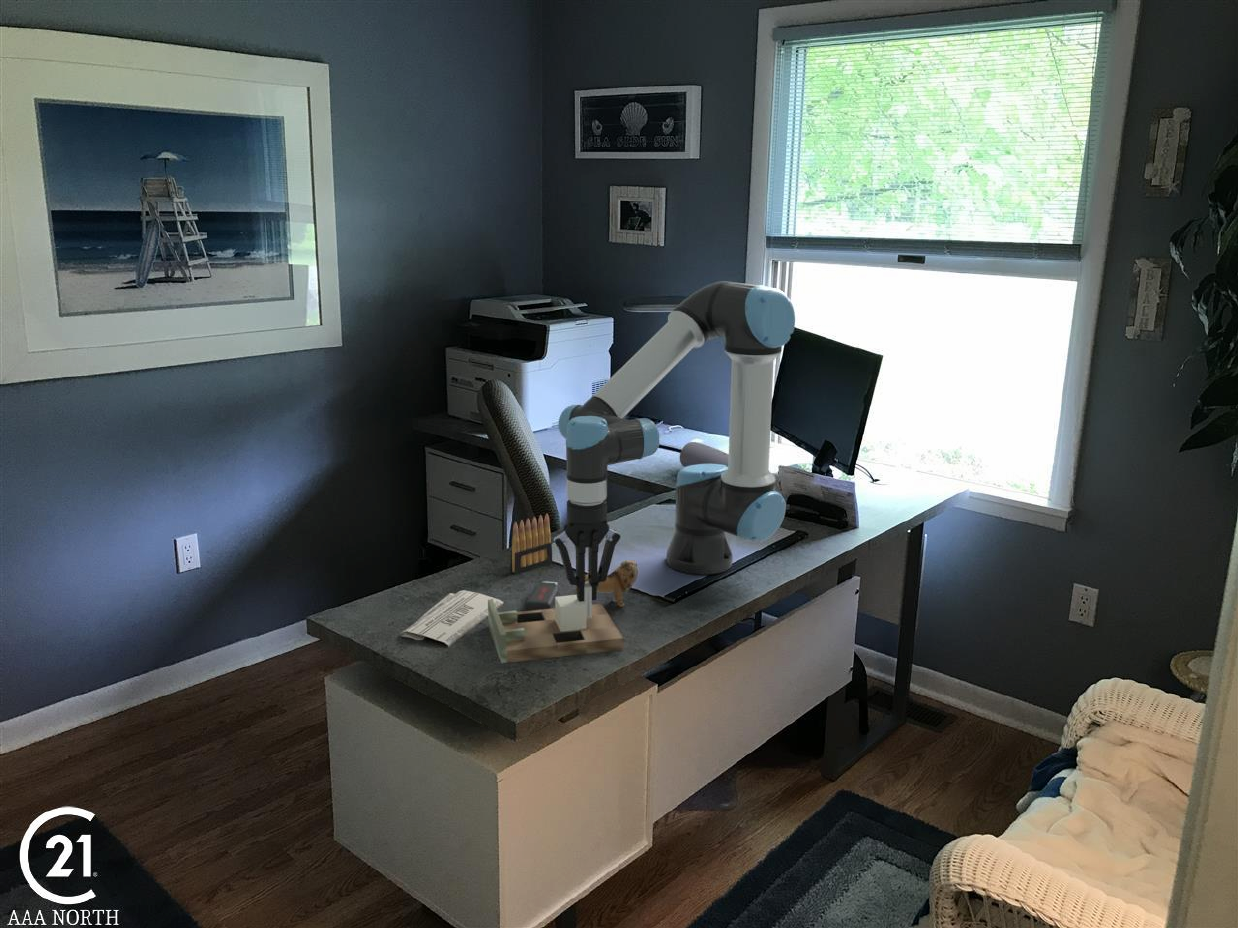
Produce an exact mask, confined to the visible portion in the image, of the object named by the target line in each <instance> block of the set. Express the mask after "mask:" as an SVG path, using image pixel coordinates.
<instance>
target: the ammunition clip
mask: <svg viewBox="0 0 1238 928" xmlns="http://www.w3.org/2000/svg"><path fill="white" fill-rule="evenodd" d="M537 522H538V523H537ZM524 523H525V524H524ZM550 526H551V525H550V516H549V514H548V513H546V514H545V516H544V520H543V515H541V514H540V515H539V517H538V521H537V519H536V516H533V518H532V521H530V519H529V518H527V519H526V522H524V521H523V519H520V523H519V527H518V523H517V521H514V523H513V527H512V537H511V538H512V539H511V551H510V570H509V571H510V573H512V574H514V575H519V574H522V573H525V572H528V571H533V570H535V569H538V568H540V567H544V566H547V565H550V564H551V565H552V564H553V542H552V540H551V527H550Z"/></svg>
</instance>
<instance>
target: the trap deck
mask: <svg viewBox="0 0 1238 928" xmlns="http://www.w3.org/2000/svg"><path fill="white" fill-rule="evenodd" d="M592 604H593V603H592ZM487 621H488V622H487V623H488V629H489V631H490V634H491V637H492V640H493V643H494V647H495V650H496V652H497V654H498V658H499V661H500V663H501V664H505V663H506V664H507V663H514V662H524V661H525V662H526V661H534V660H542V659H552V658H560V657H562V658H563V657H569V656H579V655H588V654H596V653H597V654H598V653H606V652H612V651H623V650H624V637H623V635H622V634H621V632H620V631H619V630H618V628H617V626H616V625H615V623H614V621H613V620H612V618H611V616H610V614H609V613H608V612H607V610H606V609H605V607H604V605H603V604H602V603H595V604H593V605H592V618H590V619H586V629H580V630H571V631H562V632H561V631H560V629H559V627H558V625H557V623H556V621H555V607H553V608H552V609H543V610H533V611H525V610H524V611H517V610H505V611H498V608H497V609H496V606H495V604H494V601H493V599H492V600H488V616H487Z"/></svg>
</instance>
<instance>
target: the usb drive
mask: <svg viewBox="0 0 1238 928" xmlns="http://www.w3.org/2000/svg"><path fill="white" fill-rule="evenodd" d="M559 590H560V589H559V586H558V582H556V581H540V582H538V583H537V585H535V586H534V588H533V590H531V593H530V594H529V596H528V598H527V600H526V602H525V610H524V611H533V610H543V609H553V608H554V607H555V597H559V595H560V593H559V592H560V591H559Z"/></svg>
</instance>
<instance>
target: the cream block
mask: <svg viewBox="0 0 1238 928" xmlns="http://www.w3.org/2000/svg"><path fill="white" fill-rule="evenodd" d="M554 608H555V621H556V623H557V625H558V627H559V629H560V631H561V632H562V631H571V630H580V629H586V614H587V605H586V603H585V602H584V601H582V602H579V600H578V599H577V595H575V594H571V595H562V596H561V595H560V596H558V597H555V604H554Z"/></svg>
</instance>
